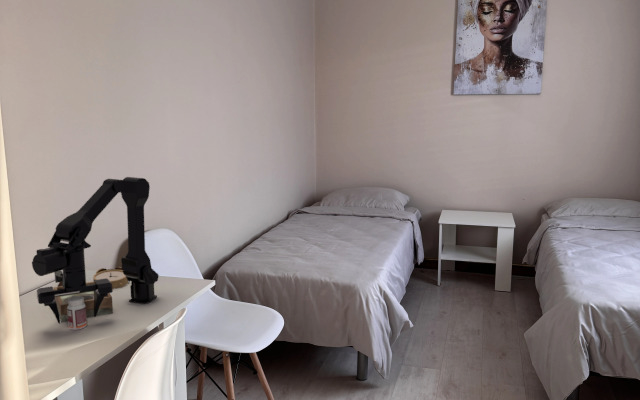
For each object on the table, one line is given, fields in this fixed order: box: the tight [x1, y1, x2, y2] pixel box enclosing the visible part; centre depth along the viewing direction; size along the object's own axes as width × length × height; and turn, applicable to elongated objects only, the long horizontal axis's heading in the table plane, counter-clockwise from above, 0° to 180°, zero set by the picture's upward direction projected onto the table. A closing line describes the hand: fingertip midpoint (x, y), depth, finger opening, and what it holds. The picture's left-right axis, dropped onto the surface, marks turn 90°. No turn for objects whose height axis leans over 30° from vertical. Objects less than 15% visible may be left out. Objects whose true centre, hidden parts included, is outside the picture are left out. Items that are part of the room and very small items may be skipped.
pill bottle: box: [67, 296, 88, 331], centre depth 149 cm, size 5×5×8 cm
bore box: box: [53, 281, 114, 323], centre depth 164 cm, size 14×18×5 cm
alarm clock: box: [92, 266, 129, 290], centre depth 187 cm, size 11×5×15 cm
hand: (77, 319), depth 149 cm, fingers open, 9 cm apart
